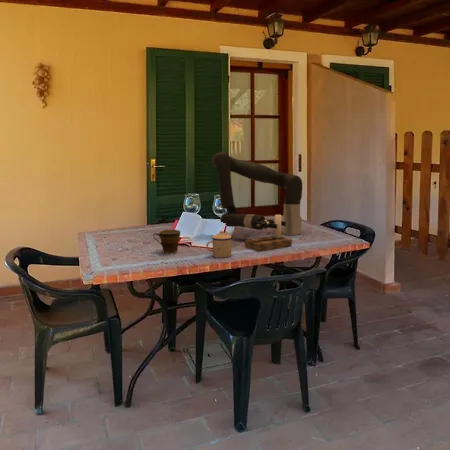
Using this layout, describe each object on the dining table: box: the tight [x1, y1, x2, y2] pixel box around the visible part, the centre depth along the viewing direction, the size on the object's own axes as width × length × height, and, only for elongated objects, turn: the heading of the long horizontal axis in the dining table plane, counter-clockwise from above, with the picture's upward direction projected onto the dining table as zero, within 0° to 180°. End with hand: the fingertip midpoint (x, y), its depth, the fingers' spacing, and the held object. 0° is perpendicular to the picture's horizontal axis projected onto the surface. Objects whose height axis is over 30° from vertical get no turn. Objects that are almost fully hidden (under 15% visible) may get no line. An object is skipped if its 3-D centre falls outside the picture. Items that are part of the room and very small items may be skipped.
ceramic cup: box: [152, 229, 181, 254], centre depth 222 cm, size 13×10×10 cm
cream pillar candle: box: [271, 214, 285, 239], centre depth 233 cm, size 4×4×14 cm
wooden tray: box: [244, 235, 293, 253], centre depth 232 cm, size 20×12×4 cm, turn 122°
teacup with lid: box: [205, 230, 233, 259], centre depth 214 cm, size 12×9×12 cm
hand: (281, 225), depth 232 cm, fingers open, 8 cm apart
